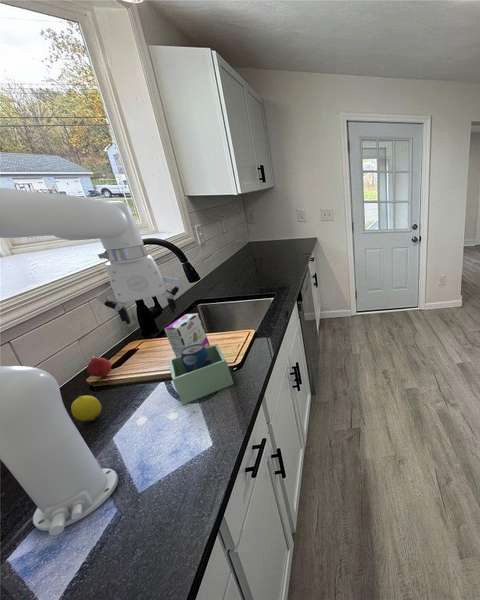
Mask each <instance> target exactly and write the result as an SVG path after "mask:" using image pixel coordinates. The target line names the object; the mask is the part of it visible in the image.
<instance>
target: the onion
mask: <svg viewBox="0 0 480 600" xmlns="http://www.w3.org/2000/svg"><path fill="white" fill-rule="evenodd" d="M111 369H112V363H111V362H110V360H108V359H106V358H104V357H97V355H93V356H92V357H91V360H90V361H89V362H88V364H87V367H86V370H87V373H88V374H90V376H92V377H97V378H104V377H106V376H107V375H108V374H109V372H110V371H111ZM107 373H108V374H107Z"/></svg>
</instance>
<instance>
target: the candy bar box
mask: <svg viewBox="0 0 480 600" xmlns="http://www.w3.org/2000/svg"><path fill="white" fill-rule="evenodd" d="M163 330H164V333H165V336H166V337H167V339H168V342H169V344H170V347H171V349H172V351H173V354H174V356H175V358H176V357H179V356H181V355H182V353H181V351H182V350H183V349H184V348H186V347H188V346H191V345H195V344H202V345H203V346H204V347H205V348H206V347H209V346H211V344H210V342H209V339H208V336H207V334H206V331H205V329H204V326H203V323H202V320H201V317H200V315H199V313H197V312H196V313H186V314H184V315H182V316H181V317H179V318H178V319H176V320H175V321H173V322H172V323H170V324H169V325H168V326H166V327H164V329H163Z"/></svg>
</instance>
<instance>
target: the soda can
mask: <svg viewBox="0 0 480 600" xmlns="http://www.w3.org/2000/svg"><path fill="white" fill-rule="evenodd" d="M181 353H182V355H181V360H182V362H183V365H184V368H185V370H186V373H189V372H192V371H194V370H197V369H200V368H203V367H205V366H208V365H211V364H212V362H211V359H210V356H209V354H208V351H207V349H206V348H205V347H204V346H203V345H202V344H195V345H191V346H188V347H186V348H184V349H183V350H182V351H181Z"/></svg>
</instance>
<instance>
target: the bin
mask: <svg viewBox="0 0 480 600" xmlns="http://www.w3.org/2000/svg"><path fill="white" fill-rule="evenodd" d="M206 349H207V351H208V354H209V356H210V359H211V362H212V364H211V365H208V366H205V367H203V368H200V369H197V370H194V371H192V372H189V373H186V370H185V368H184V365H183V362H182V360H181V356H179V357H176V356H175V357H172V358H169V359H167V360H168V366H169V369H170V374H171V375H170V376H171V379H172V382H173V384H174V387H175V390H176V392H177V394H178V396H179V399H180V401H181V403H182V405H183V406H184V405H187V404H188V403H191V402H193V401H196V400H198V399H201V398H203V397H206V396H208V395H211V394H213V393H215V392H218V391H220V390H223V389H226V388H227V387H230V386H233V385H234V384H235V383H234V381H233V378H232V375H231V371H230V368H229V365H228V362H227V359H226V357H225V356H224V354H223V351H222V350H221V349H220V346H219V344H218V343H215V344H212V345H210V346H209V347H206Z"/></svg>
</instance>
